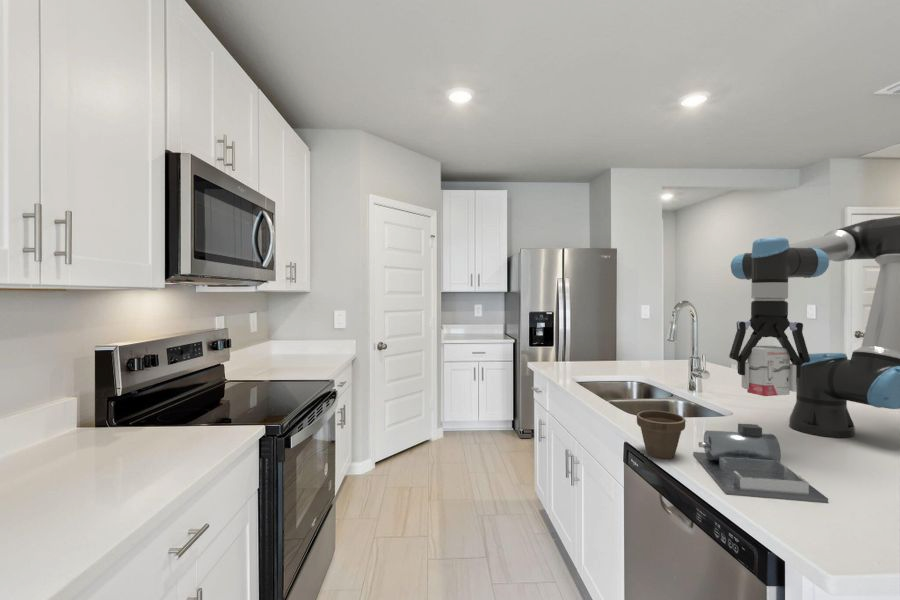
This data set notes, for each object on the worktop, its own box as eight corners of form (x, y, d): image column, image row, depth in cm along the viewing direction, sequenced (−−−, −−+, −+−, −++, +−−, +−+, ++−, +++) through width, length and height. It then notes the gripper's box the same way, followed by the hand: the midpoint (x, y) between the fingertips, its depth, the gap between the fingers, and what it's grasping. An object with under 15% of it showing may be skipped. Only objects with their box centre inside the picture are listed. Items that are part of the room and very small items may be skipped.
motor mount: (773, 460, 110) (773, 421, 110) (828, 502, 88) (828, 454, 88) (693, 455, 114) (693, 417, 114) (726, 494, 92) (725, 447, 92)
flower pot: (683, 466, 107) (683, 424, 107) (633, 457, 113) (633, 418, 113) (687, 451, 117) (687, 413, 117) (640, 444, 123) (640, 408, 123)
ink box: (763, 396, 108) (764, 348, 108) (745, 392, 113) (746, 346, 113) (790, 395, 111) (791, 347, 111) (771, 391, 115) (772, 345, 115)
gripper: (813, 300, 113) (811, 389, 113) (715, 299, 118) (714, 384, 118) (829, 300, 105) (828, 395, 105) (724, 299, 111) (723, 389, 111)
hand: (768, 389), depth 112 cm, fingers closed on ink box, 9 cm apart
